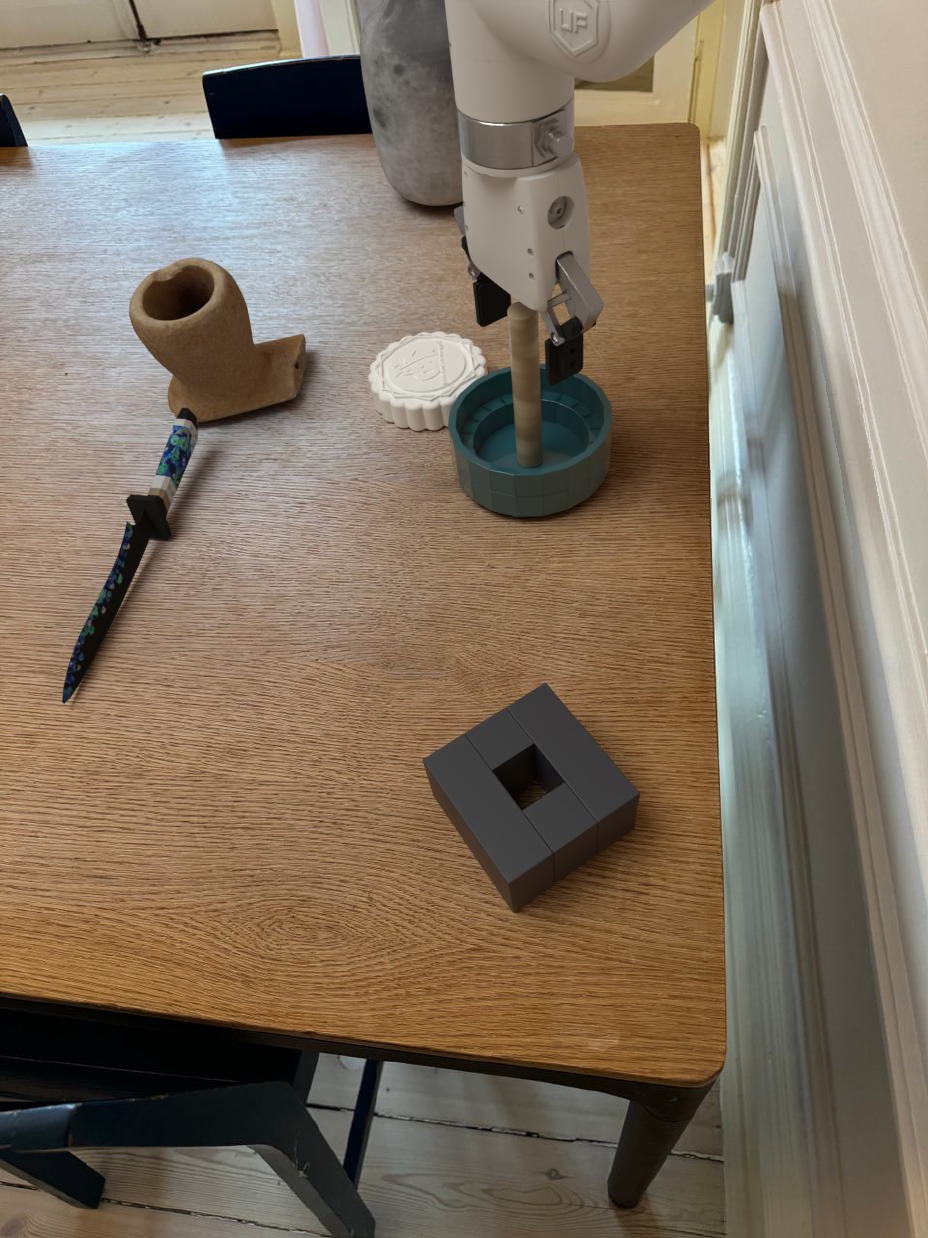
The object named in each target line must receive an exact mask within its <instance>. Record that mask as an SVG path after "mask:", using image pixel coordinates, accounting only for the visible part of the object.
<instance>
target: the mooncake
mask: <svg viewBox="0 0 928 1238" xmlns="http://www.w3.org/2000/svg"><path fill="white" fill-rule="evenodd" d="M369 371H370V373H369V374H368V375H367V381H368V385H369V389H370V395H371V397H372V401H373V403H374V408H375V410H376V412H377V413H379V414H380V415H382V418H383V419H384V420H385V421H386V422H388V423H394V424H395V426H396V427H398V428H400V429H408V428H409V429H410V430H412V431H415V432H421V431H424V430H426V429H427V430H428V431H437V430H440V429H442V428H443V427H448V421H449V411H450V409H451V408H452V406H453V404H454V402H455V400H456V399H457V397H458V395H459V394H460V393H461V392H462V391H463V390H464V389H466V388H467V387H468V386H469V385H470V384H471V383H472V382H473V381H475V380H477V379H479V378H481V377H483V376H485V375H487V374H489V373H488V363H487V359H486V358H485V357H484V353H483V350H482V349H481V347H479V346H477V345H475V343H474V341H473V340H471V339H470V338H462V336H461V335H460V334H458V333H446V332H444V331H441V330H439V331H434V332H431V333H430V332H428V331H423V332H419V333H417V334H415V335H406V336H404V337H402V338H401V339H400V340H399V341H393V342H391V343H389V344H388V345H387V346H386V348H385V349H383V350H381V351H379V352H378V353H377V354H376V357H375V360H374V361H372V363H371V364H370V365H369Z"/></svg>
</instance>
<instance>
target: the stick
mask: <svg viewBox="0 0 928 1238" xmlns="http://www.w3.org/2000/svg"><path fill="white" fill-rule="evenodd" d="M507 315H508V316H507V328H508V329H507V331H508V344H509V359H510V366H511V375H512V390H513V405H514V420H515V435H516V450H517V461H518V463H519V464H520V465H521V466H523V467H526V468H532V467H536V466H538V465H539V464H540V463H541V462H542V460H543V447H542V416H541V386H540V363H541V358H540V331H539V328H540V327H539V312H537V311H534V310H532V309H530V308H528V307H527V306H525V305H524V304H522V303H521V302H520V301H516V302H514V303H511V306H510V307H509V308H508V310H507Z"/></svg>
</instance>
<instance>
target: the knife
mask: <svg viewBox="0 0 928 1238" xmlns="http://www.w3.org/2000/svg"><path fill="white" fill-rule="evenodd" d="M198 439H199V427H198V422H197V417H196V416H195V415H194V414H193V413H192V411H191V410H190V409H189V408H181V410H180V412H179V414H178V416H177V417H176V416H175V419H174V422H173V425H172V428H171V431H170V434H169V436H168V440H167V442H166V443H165V444H166V445H165V447H164V449H163V452H162V455H161V458H160V460H159V463H158V466H157V468H156V472H155V474H154V477H153V479H152V482H151V485H150V488H149V490H148V493H147V495H145V494H133V493H130V494H129V495H128V496H127V497H126V499H125V502H126V505H127V507H128V510H129V512H130V515H131V517H132V520H133V522H134V524H132V523H130V522H129V521H126V523H125V529H124V533H123V536H122V540H121V543H120V547H119V550H118V553H117V556H116V559H115V561H114V564H113V565H112V568H111V570H110V572H109V574H108V576H107V579H106V580H105V583H104V585H103V587H102V589H101V591H100V593H99V595H98V597H97V599H96V601H95V603H94V605H93V606H92V608H91V611H90V613H89V615H88V617H87V619H86V621H85V623H84V624H83V627H82V629H81V631H80V632H79V635H78V638H77V640H76V643H75V644H74V647H73V649H72V652H71V656H70V659H69V663H68V665H67V669H66V674H65V678H64V683H63V687H62V698H61V703H62V704H66V703H67V702H68V701H69V700H70V699H71V698H72V696H73V695H74V693H75V692H76V690H77V689H78V688H79V686H80V684H81V683H82V682H83V679H84V678H85V676H86V674H87V673H88V671H89V669H90V667H91V665H92V663H93V662H94V660H95V658H96V656H97V654H98V652H99V650H100V649H101V647H102V644H103V643H104V641H105V639H106V637H107V635H108V634H109V631H110V629H111V627H112V625H113V623H114V621H115V619H116V618H117V615H118V613H119V611H120V608H121V606H122V604H123V601H124V599H125V597H126V595H127V594H128V591H129V588H130V587H131V584H132V582H133V579H134V578H135V575H136V573H137V572H138V568H139V566H140V565H141V561H142V559H143V557H144V554H145V552H146V550H147V547H148V544H149V542H150V540H160V541H170V539H171V538H172V537H173V533H172V530H171V526H170V525H169V521H168V518H167V517H168V513H169V511H170V509H171V506H172V504H173V501H174V498H175V496H176V494H177V491H178V489H179V487H180V484H181V482H182V479H183V477H184V474H185V472H186V470H187V467H188V465H189V462H190V460H191V458H192V455H193V453H194V451H195V447H196V445H197V443H198Z"/></svg>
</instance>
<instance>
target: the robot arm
mask: <svg viewBox="0 0 928 1238" xmlns="http://www.w3.org/2000/svg"><path fill="white" fill-rule="evenodd" d="M714 2H716V0H445V9H446V18H447V27H448V37H449V46H450V55H451V65H452V74H453V83H454V92H455V102H456V110H457V120H458V129H459V138H460V148H461V157H462V190H463V201H462V205H460V206H457V207H456V208H454V209H453V215H454V219H455V221H456V224H457V227H458V229H459V230H458V231H459V233H460V235H462V237H461V239H460V241H461V242H460V243H461V244H460V245H461V248H462V250H463V251H464V253H465V255H466V257H467V259H468V261H469V264H468V265H467V273H468V275H469V277H470V279H471V280H472V281H474V282H472V289H473V299H474V309H475V317H476V324H478V325H479V326H480V327H481V328H485V327H488V326H489V325H492V324H495V323H496V322H498V321H500V320H502V319H504V318H506V317H508V315H507V310H508V308H509V307H510V306H511V305H512V298H514V299H516V301H517V302H519V301H520V302H521V303H522V304H524V305H525V306H527V307H528V308H530V309H532V310H534V311H537V312H538V314H539V315H540V318H541V320H542V323H543V325H544V327H545V329H546V332H547V334H548V338H546V339H545V340H544V364H545V367H546V381H547V383H549V384H550V385H551V386H554V385H556V384H558V383H560V382H561V381H563V380H565V379H567V378H569V377H571V376H573V375H575V374H577V373H581V372H582V370H583V368H584V333H587V332H588V331H589V330H591V329H592V328H594V327H595V326H596V325H597V320H598V319H599V317H600V315H601V313H602V311H603V309H604V301H603V299H602V297H601V296H600V294H599V293H598V291H597V290H596V288H595V287H594V285H593V284H592V283H591V280H592V254H591V233H590V231H591V230H590V217H589V205H588V198H587V189H586V184H585V177H584V171H583V167H582V162H581V157H580V154H578V153H577V152H575V151H574V150H575V141H576V140H575V138H576V137H575V78H576V79H578V80H582V81H585V82H592V83H609V82H614V81H618V80H621V79H622V78H625V77H627V76H629V75H632V74H633V73H634V72H635V71H637V70H639V69H640V68H641V67H642V66H643V65H644V64H645V63H647V62H648V61H649V60H650V59H652V58H653V57H654V56H655V55H656V54H657V53H658V52H659V51H660V50H661V49H662V48H663V47H664V46H666V45H667V44H668V43H669V42H670V41H671V40H672V39H673V38H674V37H676V35H677V34H678V33H679V32H680V31H682V30H683V29H684V28H685V27H686V26H687V25H689V23H691V22H692V21H693V20H694V19H695V18H696V17H697V16H699V15H700V14H701V13H702V12H703V11H704V10H706V9H707V8H708V7H709V6H710V5H712V4H713V3H714ZM557 285H559V288H560V290H561V293H559V294H557V295H555V296H554V297H553V293H554V291H555V287H556V286H557ZM562 303H564V305H565V307H566V309H567V312H568V314H569V317H570V318H569V319H568V320H566V321H565V322H562V324H560V322H559V319H558V317H557V313H556V312H555V310H554V308H555V307H557V306H559V305H561V304H562Z"/></svg>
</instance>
